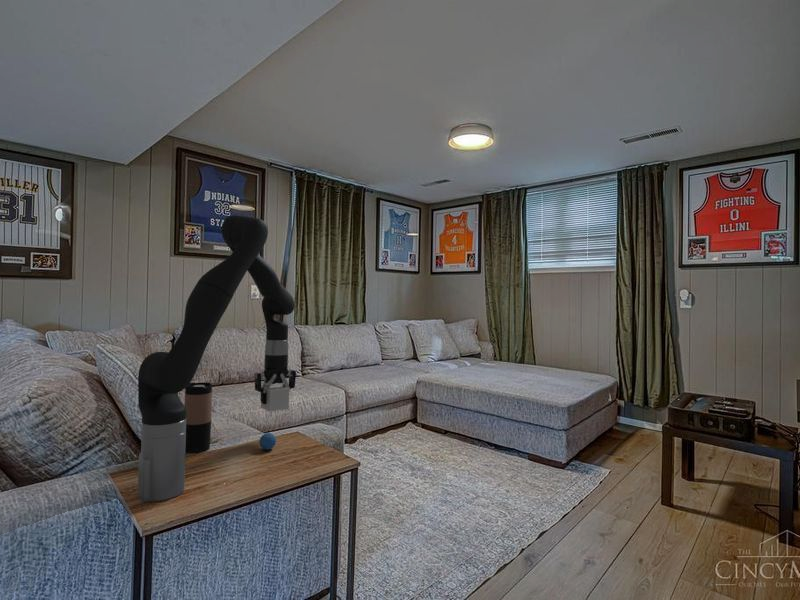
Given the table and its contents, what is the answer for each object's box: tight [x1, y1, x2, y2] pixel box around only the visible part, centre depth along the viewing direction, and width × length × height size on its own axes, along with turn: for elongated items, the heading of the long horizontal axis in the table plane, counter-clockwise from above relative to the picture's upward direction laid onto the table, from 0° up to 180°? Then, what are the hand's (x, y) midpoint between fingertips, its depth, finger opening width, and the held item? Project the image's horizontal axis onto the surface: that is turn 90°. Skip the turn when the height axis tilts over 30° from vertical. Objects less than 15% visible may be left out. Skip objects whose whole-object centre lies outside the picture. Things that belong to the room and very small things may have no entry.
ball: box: [258, 432, 277, 451], centre depth 131 cm, size 5×5×5 cm
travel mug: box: [184, 382, 213, 454], centre depth 130 cm, size 8×8×20 cm
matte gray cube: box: [260, 384, 290, 412], centre depth 141 cm, size 7×7×7 cm
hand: (274, 402), depth 141 cm, fingers closed on matte gray cube, 7 cm apart
